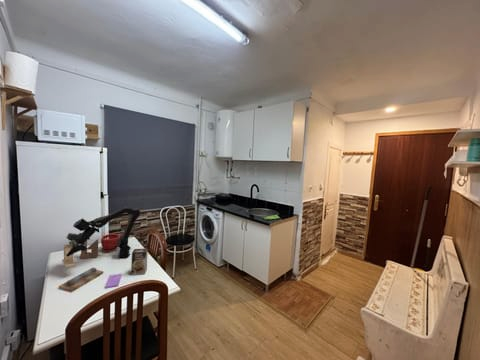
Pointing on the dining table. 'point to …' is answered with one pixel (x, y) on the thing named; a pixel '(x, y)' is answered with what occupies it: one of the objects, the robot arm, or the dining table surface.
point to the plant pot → (109, 242)
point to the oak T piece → (68, 260)
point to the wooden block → (93, 251)
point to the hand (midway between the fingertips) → (65, 255)
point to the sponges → (113, 281)
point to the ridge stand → (80, 280)
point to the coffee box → (139, 261)
